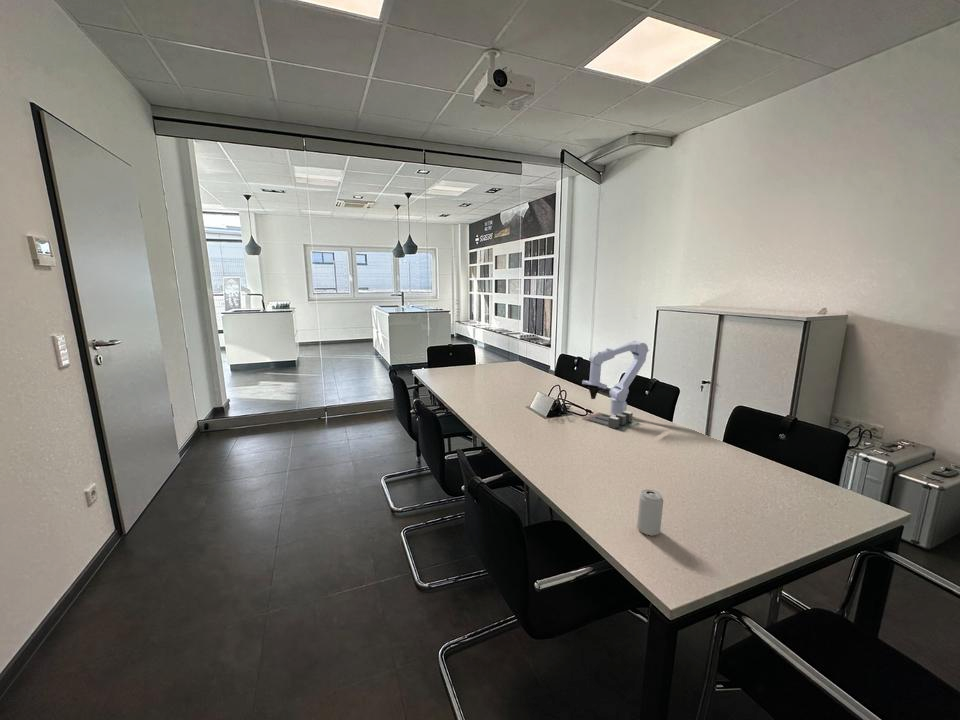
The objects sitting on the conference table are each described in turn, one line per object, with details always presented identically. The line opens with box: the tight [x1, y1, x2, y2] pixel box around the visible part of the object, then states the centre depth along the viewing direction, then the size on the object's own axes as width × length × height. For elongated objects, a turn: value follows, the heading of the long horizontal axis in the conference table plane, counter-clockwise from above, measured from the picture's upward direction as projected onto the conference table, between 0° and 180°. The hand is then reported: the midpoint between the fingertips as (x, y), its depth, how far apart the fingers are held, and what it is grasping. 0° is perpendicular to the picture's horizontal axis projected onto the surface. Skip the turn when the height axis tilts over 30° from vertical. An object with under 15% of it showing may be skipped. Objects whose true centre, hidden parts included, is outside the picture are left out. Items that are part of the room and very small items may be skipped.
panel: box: [581, 412, 640, 432], centre depth 212 cm, size 18×24×2 cm
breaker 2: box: [622, 410, 634, 422], centre depth 211 cm, size 4×4×5 cm
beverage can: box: [636, 488, 664, 537], centre depth 117 cm, size 6×6×12 cm
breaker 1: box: [608, 415, 620, 429], centre depth 202 cm, size 4×4×5 cm
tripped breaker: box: [615, 414, 626, 425], centre depth 206 cm, size 4×4×5 cm
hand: (593, 398), depth 222 cm, fingers closed
